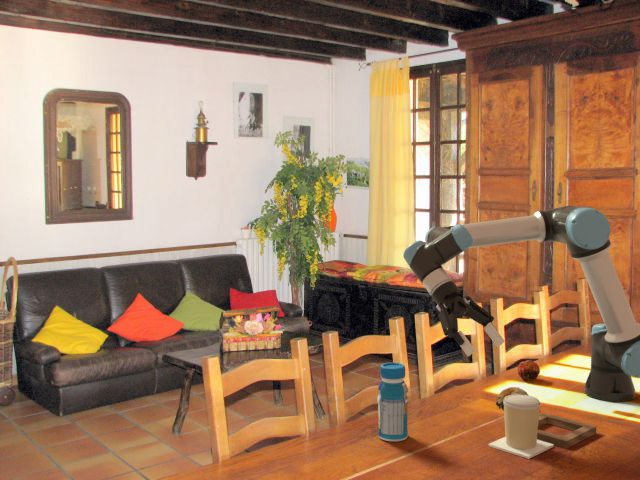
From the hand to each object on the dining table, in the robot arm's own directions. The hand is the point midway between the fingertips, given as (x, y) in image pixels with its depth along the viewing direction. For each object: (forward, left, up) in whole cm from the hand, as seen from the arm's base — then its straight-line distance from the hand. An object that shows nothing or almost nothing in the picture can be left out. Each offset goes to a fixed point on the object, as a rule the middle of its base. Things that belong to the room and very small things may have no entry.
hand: (486, 348), depth 199 cm
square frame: (-15, +12, -24) cm, 31 cm away
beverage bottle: (+19, -17, -24) cm, 35 cm away
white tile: (0, +11, -24) cm, 27 cm away
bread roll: (-27, -9, -25) cm, 37 cm away
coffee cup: (0, +11, -24) cm, 26 cm away
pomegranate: (-55, -21, -25) cm, 64 cm away
